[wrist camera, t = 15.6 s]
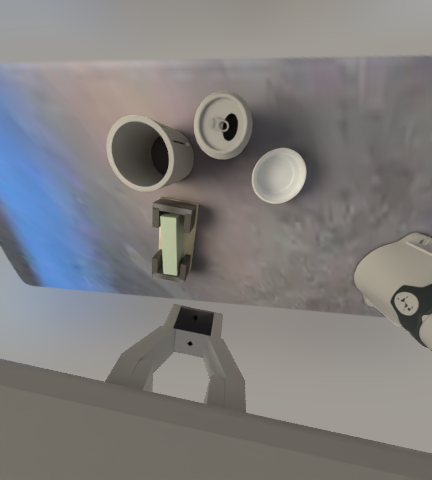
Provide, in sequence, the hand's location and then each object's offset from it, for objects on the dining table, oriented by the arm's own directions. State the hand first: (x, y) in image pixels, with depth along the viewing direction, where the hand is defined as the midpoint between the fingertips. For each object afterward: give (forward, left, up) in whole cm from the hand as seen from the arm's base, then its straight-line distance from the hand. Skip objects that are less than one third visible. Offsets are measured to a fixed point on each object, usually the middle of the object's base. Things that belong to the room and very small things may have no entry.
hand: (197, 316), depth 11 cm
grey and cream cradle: (+9, +9, -29) cm, 32 cm away
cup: (+12, -7, -29) cm, 32 cm away
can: (+2, -12, -29) cm, 32 cm away
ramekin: (-8, -7, -30) cm, 31 cm away
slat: (+9, +9, -28) cm, 31 cm away
